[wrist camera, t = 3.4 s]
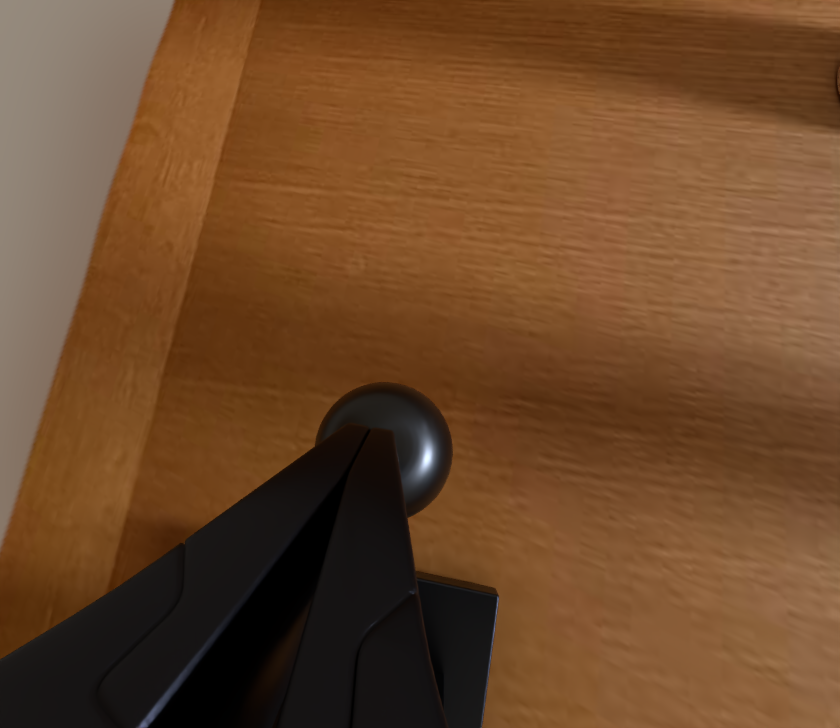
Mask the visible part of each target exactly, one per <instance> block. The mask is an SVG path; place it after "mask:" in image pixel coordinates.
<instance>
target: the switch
mask: <svg viewBox="0 0 840 728" xmlns="http://www.w3.org/2000/svg"><path fill="white" fill-rule="evenodd" d="M348 423H356V424H361V425H367V426H369V427H370V429H372V428H373V427H378V428H383V429H389V430H392V431H393V432H394V434H395V440H396V447H397V453H398V460H399V466H400V473H401V479H402V486H403V492H404V499H405V505H406V512H407V518H408V517H411V516H413V515H415V514H417V513H418V512H420V511H421V510H423V509H424V508H425V507H427V506H428V505H429V504H430V503H431V502H432V501H433V500H434V499H435V498H436V497H437V495H438V494H439V493H440V491H441V490H442V488H443V486H444V484H445V482H446V480H447V478H448V475H449V472H450V468H451V464H452V455H453V449H452V439H451V434H450V431H449V428H448V425H447V423H446V421H445V419H444V417H443V415H442V414H441V412H440V410H439V409H438V408H437V407H436V406H435V404H434V403H433V402H432V401H431V400H430V399H429V398H427V397H426V396H425V395H423V394H422V393H420V392H419V391H417V390H415V389H413V388H410V387H408V386H405V385H401V384H397V383H389V382H378V383H372V384H367V385H364V386H361V387H358V388H356V389H354V390H352V391H350V392H348V393H347V394H345V395H344V396H343V397H341V398H340V399H339V400H338V401H337V402H336V403H335V404H334V405H333V406H332V407H331V408H330V410H329V411H328V412H327V414H326V415H325V417H324V419H323V420H322V422H321V425H320V427H319V430H318V433H317V436H316V441H315V446H316V445H318V444H319V443H321V442H322V441H323V440H325V439H326V438H327V437H329V436H330V435H332V434H333V433H334V432H336V431H337V430H339V429H340V428H341V427H343V426H344V425H346V424H348Z"/></svg>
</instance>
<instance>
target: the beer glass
mask: <svg viewBox="0 0 840 728" xmlns="http://www.w3.org/2000/svg"><path fill="white" fill-rule="evenodd" d="M837 86H838V91H839V94H840V67H839V70H838V75H837Z"/></svg>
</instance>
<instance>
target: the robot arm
mask: <svg viewBox="0 0 840 728" xmlns="http://www.w3.org/2000/svg"><path fill="white" fill-rule="evenodd" d="M284 697H285V698H284ZM283 699H284V701H283ZM282 702H283V705H282V708H281V712H280V715H279V719H278V722H277V726H276V728H448V725H447V721H446V718H445V714H444V710H443V707H442V703H441V699H440V695H439V691H438V687H437V683H436V679H435V675H434V671H433V667H432V663H431V659H430V654H429V648H428V643H427V638H426V632H425V627H424V622H423V615H422V609H421V602H420V596H419V595H418V584H417V577H416V571H415V564H414V558H413V551H412V545H411V538H410V532H409V525H408V519H407V512H406V505H405V499H404V492H403V486H402V479H401V473H400V466H399V460H398V453H397V447H396V440H395V434H394V432H393V431H392V430H389V429H383V428H378V427H373V428H372V429H370V427H369V426H367V425H361V424H356V423H348V424H346V425H344V426H343V427H341V428H340V429H339V430H337V431H336V432H334V433H333V434H332V435H330V436H329V437H327V438H326V439H325V440H323V441H322V442H321V443H319V444H318V445H316V446H315V447H314V448H312V449H311V450H309V451H308V452H307V453H305V454H304V455H302V456H301V457H300V458H298V459H297V460H295V461H294V462H293V463H291V464H290V465H289V466H287V467H286V468H284V469H283V470H282V471H280V472H279V473H277V474H276V475H275V476H273V477H272V478H270V479H269V480H268V481H266V482H265V483H264V484H262V485H261V486H259V487H258V488H257V489H255V490H254V491H252V492H251V493H250V494H248V495H247V496H245V497H244V498H243V499H241V500H240V501H238V502H237V503H236V504H234V505H233V506H232V507H230V508H229V509H227V510H226V511H225V512H223V513H222V514H220V515H219V516H218V517H216V518H215V519H213V520H212V521H211V522H209V523H208V524H206V525H205V526H204V527H202V528H201V529H200V530H198V531H197V532H195V533H194V534H193V535H191V536H190V537H188V538H187V539H186V540H185V544H183V543H180V544H178V545H177V546H176V547H174V548H173V549H171V550H170V551H169V552H167V553H166V554H164V555H163V556H162V557H160V558H159V559H157V560H156V561H155V562H153V563H152V564H150V565H149V566H147V567H146V568H144V569H143V570H142V571H140V572H139V573H137V574H136V575H134V576H133V577H131V578H130V579H128V580H127V581H126V582H124V583H123V584H121V585H120V586H118V587H117V588H115V589H114V590H112V591H110V592H109V593H107V594H106V595H104V596H102V597H101V598H99V599H98V600H96V601H95V602H93V603H91V604H90V605H88V606H87V607H85V608H84V609H82V610H80V611H79V612H77V613H76V614H74V615H72V616H71V617H69V618H68V619H66V620H64V621H63V622H61V623H59V624H58V625H56V626H54V627H53V628H51V629H50V630H48V631H46V632H45V633H43V634H41V635H40V636H38V637H36V638H35V639H33V640H31V641H30V642H28V643H27V644H25V645H23V646H22V647H20V648H18V649H17V650H15V651H13V652H12V653H10V654H9V655H7V656H5V657H4V658H2V659H0V728H272V726H273V724H274V721H275V719H276V716H277V714H278V712H279V709H280V707H281V704H282Z"/></svg>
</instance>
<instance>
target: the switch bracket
mask: <svg viewBox="0 0 840 728" xmlns="http://www.w3.org/2000/svg"><path fill="white" fill-rule="evenodd" d="M416 577H417V584H418V595H419V596H420V602H421V609H422V615H423V622H424V627H425V632H426V638H427V643H428V648H429V654H430V659H431V663H432V667H433V671H434V675H435V679H436V683H437V687H438V691H439V695H440V699H441V703H442V707H443V710H444V714H445V718H446V721H447V725H448V728H482V723H483V716H484V708H485V701H486V693H487V685H488V678H489V670H490V663H491V655H492V648H493V640H494V632H495V625H496V617H497V610H498V602H499V596H498V593H497V591H496V589H495V588H493V587H488V586H483V585H479V584H474V583H469V582H465V581H460V580H455V579H450V578H446V577H441V576H436V575H432V574H427V573H422V572H417V571H416ZM284 698H285V697H284ZM283 701H284V699H283ZM282 705H283V702H282V704H281V707H280V709H279V712H278V714H277V716H276V719H275V721H274V724H273V726H272V728H276V726H277V722H278V719H279V715H280V712H281V708H282Z"/></svg>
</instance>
